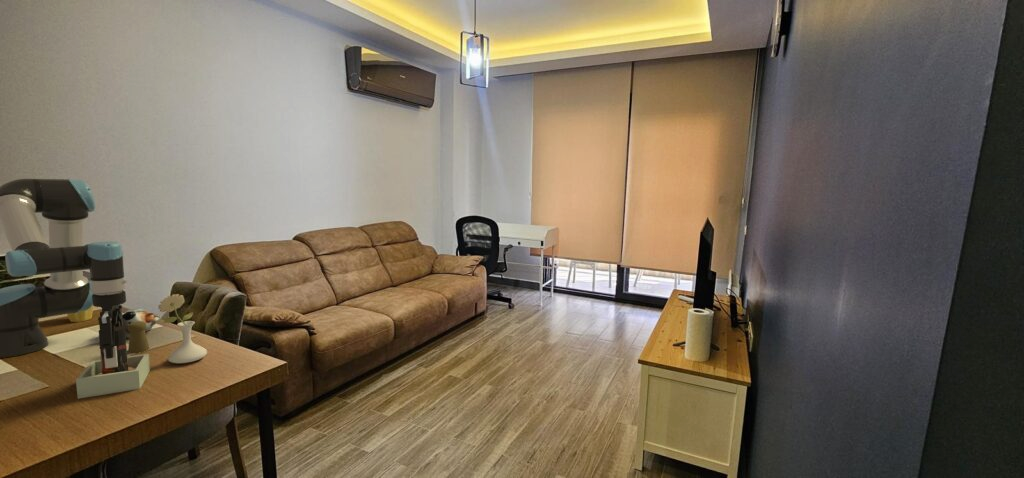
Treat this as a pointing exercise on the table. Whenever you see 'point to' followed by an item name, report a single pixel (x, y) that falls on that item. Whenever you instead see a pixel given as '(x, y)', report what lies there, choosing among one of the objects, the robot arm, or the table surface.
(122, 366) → the deodorant
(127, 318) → the lucky cat figurine
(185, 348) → the flower in vase
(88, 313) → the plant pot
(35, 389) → the table surface
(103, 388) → the open box
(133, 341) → the cork
